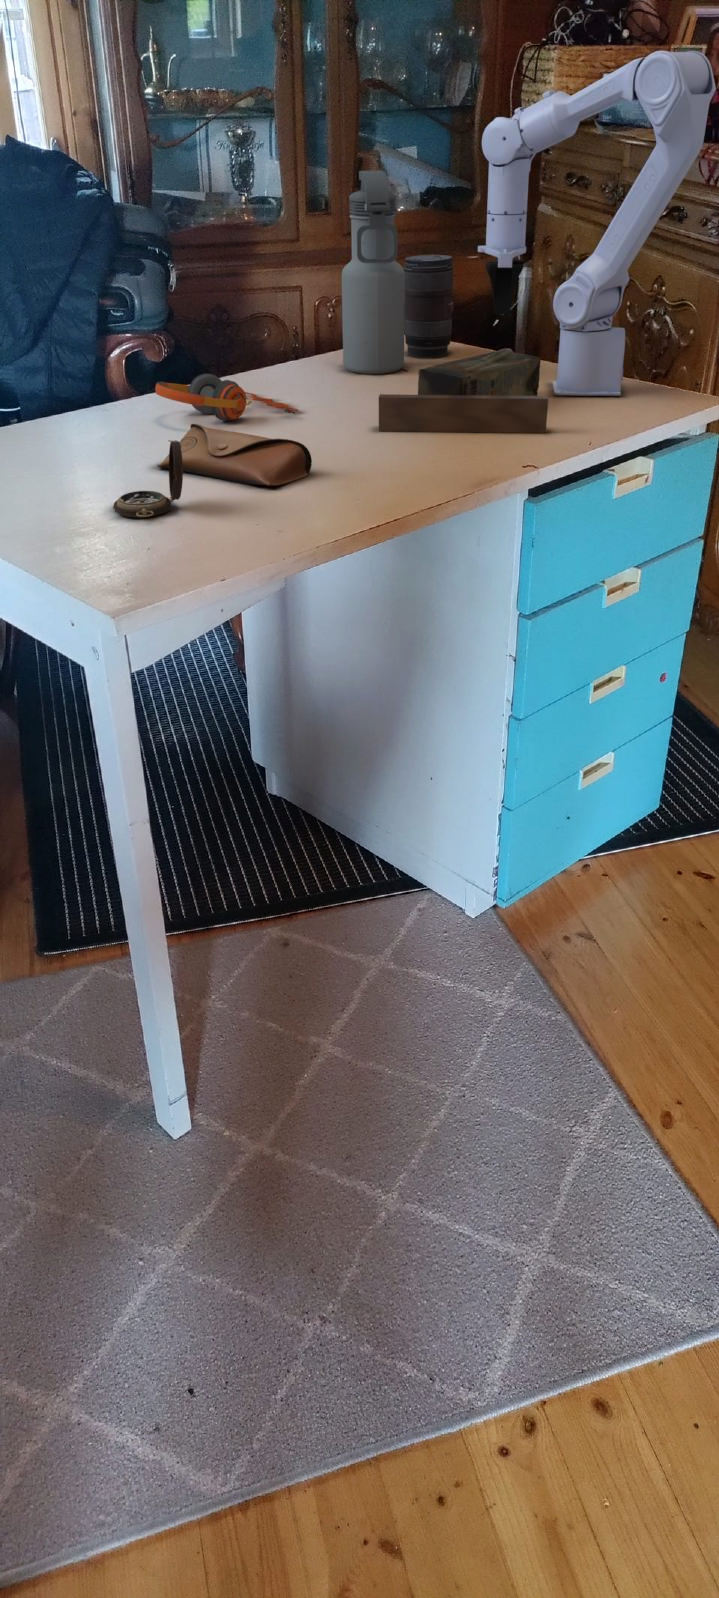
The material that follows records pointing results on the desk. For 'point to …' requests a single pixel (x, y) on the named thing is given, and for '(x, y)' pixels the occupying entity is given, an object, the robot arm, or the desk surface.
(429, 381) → the beverage carton
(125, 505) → the compass
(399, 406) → the backstop rail
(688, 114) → the robot arm
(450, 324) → the camera lens
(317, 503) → the desk surface
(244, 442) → the sunglasses case
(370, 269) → the water bottle
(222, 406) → the headphones
